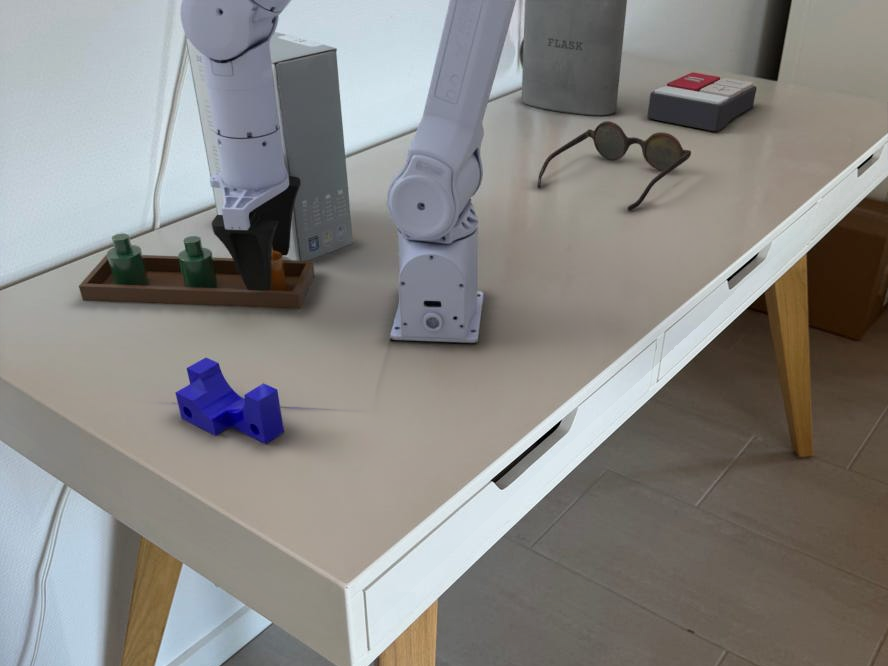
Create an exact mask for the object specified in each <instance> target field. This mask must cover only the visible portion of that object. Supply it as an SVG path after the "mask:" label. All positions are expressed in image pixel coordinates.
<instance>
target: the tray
mask: <svg viewBox="0 0 888 666" xmlns="http://www.w3.org/2000/svg"><path fill="white" fill-rule="evenodd" d="M142 255H143V259H144V263H145V267H146V271H147V275H148V280H149V284H148V285H147V286H139V285H115V283H114V279H113V275H112V272H111V268H110V264H109V260H108V257H107V254H105V256H104V257H103V258H102V259H101V260H100V261H99V262H98V264H97V265H96V266H95V267H94V268H93V269H92V270H91V271H90V272H89V274H88V275H87V276H86V277H85V278H84V279H83V280H82V282H81V283H80V284H79V285H78V288H79V292H80V296H81V299H82V301H84V302H111V303H112V302H113V303H134V304H135V303H138V304H160V305H161V304H164V305H189V306H190V305H191V306H192V305H193V306H212V307H213V306H215V307H216V306H217V307H239V308H241V307H242V308H243V307H245V308H267V309H268V308H269V309H290V310H291V309H294V310H299V309H300V308H301V306H302V304H303V302H304V301H305V300H304V299H305V298H306V295H307V293H308V292H309V289H310V286H311V285H312V282H313V280H314V277H315V268H314V266H315V265H314V261H313V260H309V261H296V260H290V259H283V264H284V271H285V278H286V285H287V289H286V291H273V290H268V291H255V290H247V288H246V286H245V284H244V282H243V280H242V277H241V275H240V273H239V270H238V268H237V266H236V264H235V262H234V260H233V258H232V257H213V261H214V266H215V271H216V277H217V282H218V287H217V288H193V287H184V282H183V278H182V273H181V268H180V264H179V259H178V255H158V254H157V255H154V254H151V255H150V254H142Z"/></svg>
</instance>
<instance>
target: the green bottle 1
mask: <svg viewBox="0 0 888 666" xmlns="http://www.w3.org/2000/svg"><path fill="white" fill-rule="evenodd" d="M111 241H112V245H113V247H112V248H110V249H108V250H107V252H106V255H107V257H108V260H109V264H110V268H111V272H112V275H113V279H114V283H115V285H139V286H147V285H148V284H149V280H148V275H147V271H146V267H145V263H144V259H143V255H144V254H143V252H142V248H141V247H140V246H139V245H136V244H132V242H131V238H130V235H129V234H128V233H117V234H114V235H112V237H111Z"/></svg>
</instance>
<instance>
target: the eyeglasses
mask: <svg viewBox="0 0 888 666" xmlns="http://www.w3.org/2000/svg"><path fill="white" fill-rule="evenodd" d="M588 138H591V139H592V140H593V144H594V147H595V149H596V152H597V153H598V154H599V155H600V156H601V157H602V158H604V159H606V160H609V161H617V160H620V159H622V158H623V157H624V156H625V155H626V153H627V152H628V150H629V148H630V146H632V145H635V144H636V145H639V146H640V147H641V152H642V157H643V159H644V160H645V162H646V163H647V164H648V165H649V166H650V167H651V168H653V169H655V170H657V171H661V172H659V173H658V174H657V175H656V176H655V177H654V178H652V179H651V181H650V182H649V183H648V184H647V186H646V187H645V188H644V191H643V192H642V193H641V195H640V196H639V198H637V200H636V201H635V202H633V203H632V204H629V205H628V206H627V211H628V212H631V211H633V210H635V209H637V208H638V207H639V206H640V205H641V204H642V203H643V201H644V200H645V198H646V197H647V196H648V194H649V192H650V191H651V189H652V188H653V187H654V186H655V184H656V183H658V182H659V181H660V180H661V179H663V178H664V177H665V176H666V175H668V174H669V173H670V172H673V170H675V169H676V168H678V167H680V166H681V165H682V164H684V163H685V162H686V161H687V160H688V159H690V158H691V155H692V151H691V150H690V149H684V148H683V147H682V144H681V142H680V141H679V140H678V138H677V137H675V136H674V135H672V134H670V133H669V132H661V131H660V132H655V133H652V134H651V135H649V136H648V138H646V139H645V140H643V139H642V138H638V137H635V136H633V137H628V136H627V134H626V133H625V132H624V130H623V128H622V127H621V126H620V125H618V124H617V123H616V122H613V121H609V120H607V121H606V120H605V121H603V122H600V123H599V124H598V125H597V126H596V127H595V128H594V130H593V129H587V130H586V131H585V132H583V133H581V134H579V135H578V136H576V137H575V138H573V139H571V140H570V141H568V142H567V143H566V144H564V145H562V146H561V147H559V148H558V149H556V150H555V151H554V152H552V153H550V154H549V155H548V157H547V158H546V159H545V160H544V162H543V164H542V167H541V168H540V171H539V173H538V177H537V179H538V180H537V188H541V185H542V178H543V175H544V174H545V172H546V170H547V167H548V165H549V164H550V162H551V161H552V160H553V159H555V157H557V156H558V155H560V154H562V153H563V152H564V153H565V152H566V151H567V150H570V149H571V148H572V147H574V146H576V145H578V144H579V143H581V142H583V141H585V140H587V139H588Z"/></svg>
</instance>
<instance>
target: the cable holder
mask: <svg viewBox="0 0 888 666" xmlns="http://www.w3.org/2000/svg"><path fill="white" fill-rule="evenodd" d="M186 372H187V376H188V381H189V384H188V385H186V386H184V387H182V388H181V389H179V390H177V391H175V392H174V393H175V398H176V401H177V406H178V409H179V414H180V418H181V419H182V420H183V421H186V422H188V423H190V424H192V425H193V426H196V428H197V427H198V428H200V429H201V430H203V431H205V432H207V433H209V434H211V435H213V436H218V435H219V434H221V433H223V432H224V431H226V430H227V429H229V428H231V429H233V430H236V431H238V432H240V433H242V434H244V435H246V436H248V437H250V438H252V439H254V440H256V441H258V442H260V443H262V444H265V445H267V444H268V443H270V442H271V441H273V440H275V439H276V438H277V437H279V436H280V435H282V434H284V433H285V429H284V422H283V416H282V415H283V414H282V409H281V403H280V397H279V390H278V389H277V388H276V387H273V386H271V385H268V384H266V383H264V382H263V383H261V384H259V385H258V386H257V387H255V388H253V389H251V390H249V391H248V392H246V393H245V394H243V396H244V397H242V396H241V395H239V393H237V392H236V391H235V390H234V389H233V388H232V387H231V385H230V384H229V382H228V381H227V380H226V378H225V376H224V374H223V372H222V370H221V366H220V363H219V362H218V361H216V360H213V359H211V358H208V357H204V358H202V359H201V360H198V361H197V362H195V363H193V364H190V365H189V366H188V367H186Z"/></svg>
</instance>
